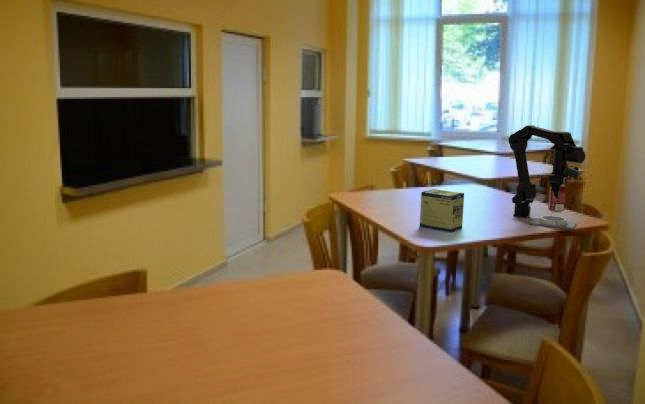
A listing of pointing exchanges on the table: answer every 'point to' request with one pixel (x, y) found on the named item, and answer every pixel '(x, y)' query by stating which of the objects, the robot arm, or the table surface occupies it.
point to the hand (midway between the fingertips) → (557, 195)
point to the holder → (553, 222)
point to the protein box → (441, 210)
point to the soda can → (557, 200)
